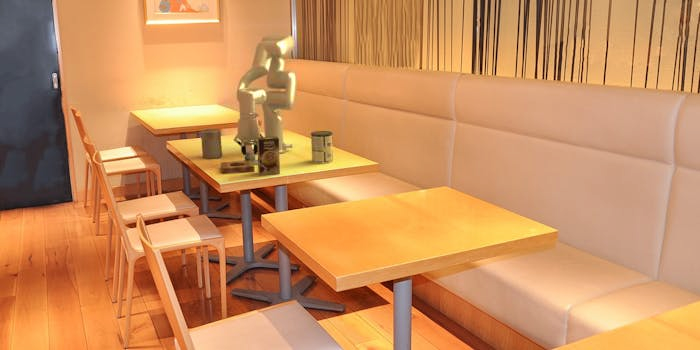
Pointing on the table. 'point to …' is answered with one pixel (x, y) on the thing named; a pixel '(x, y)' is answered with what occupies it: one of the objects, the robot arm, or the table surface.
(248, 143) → the end cap
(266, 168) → the coffee box
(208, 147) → the pillar candle
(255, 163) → the rubber mat
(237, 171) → the brown wooden square frame
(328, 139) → the coffee can
